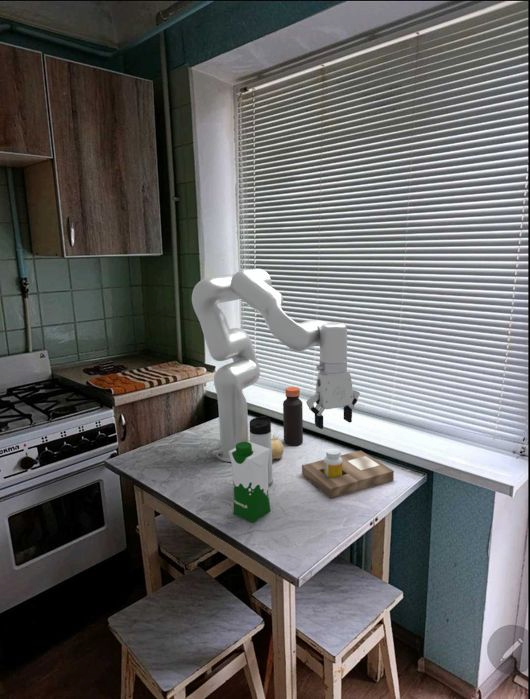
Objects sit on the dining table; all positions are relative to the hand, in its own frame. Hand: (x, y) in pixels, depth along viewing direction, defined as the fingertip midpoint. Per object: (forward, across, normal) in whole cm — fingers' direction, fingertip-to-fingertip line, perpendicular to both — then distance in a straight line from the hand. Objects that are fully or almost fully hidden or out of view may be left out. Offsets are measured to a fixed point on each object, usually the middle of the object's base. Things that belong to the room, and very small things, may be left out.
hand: (333, 424), depth 135 cm
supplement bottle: (+18, 0, 0) cm, 18 cm away
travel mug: (+18, -19, +9) cm, 28 cm away
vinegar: (+18, +3, +30) cm, 35 cm away
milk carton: (+18, -28, -4) cm, 34 cm away
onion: (+18, -9, +23) cm, 31 cm away
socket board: (+18, +5, 0) cm, 19 cm away
